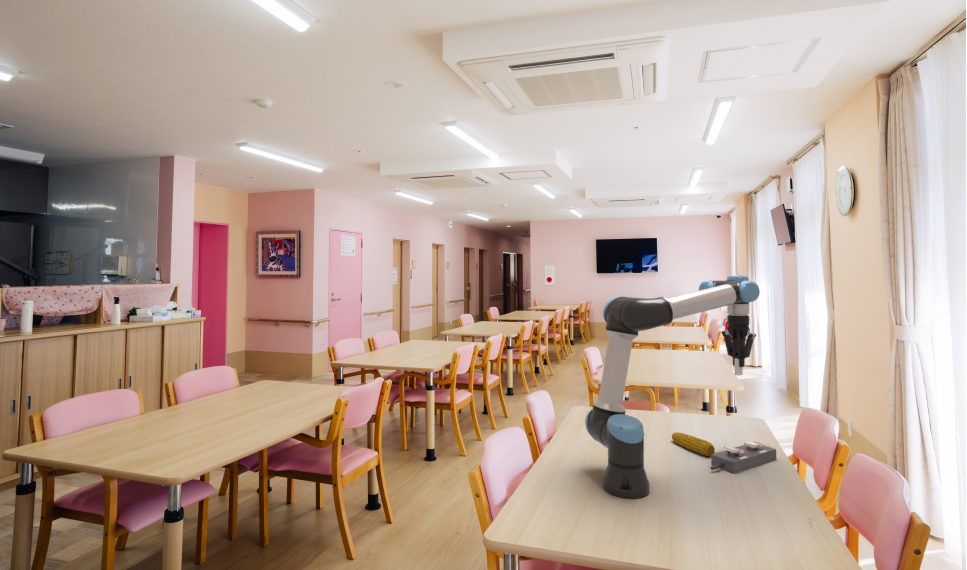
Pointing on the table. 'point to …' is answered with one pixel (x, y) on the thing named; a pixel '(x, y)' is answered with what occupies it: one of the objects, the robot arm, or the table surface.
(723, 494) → the table surface
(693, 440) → the food
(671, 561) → the table surface
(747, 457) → the power strip
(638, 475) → the robot arm
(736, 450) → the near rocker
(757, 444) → the far rocker
